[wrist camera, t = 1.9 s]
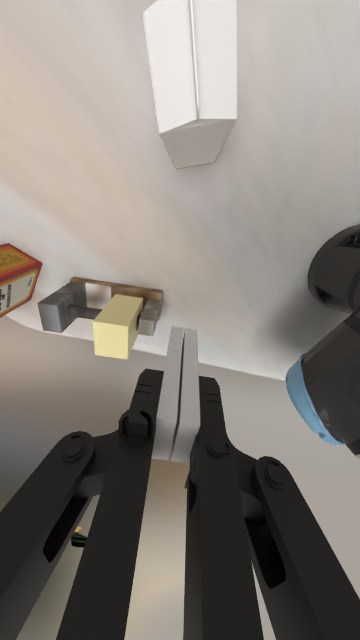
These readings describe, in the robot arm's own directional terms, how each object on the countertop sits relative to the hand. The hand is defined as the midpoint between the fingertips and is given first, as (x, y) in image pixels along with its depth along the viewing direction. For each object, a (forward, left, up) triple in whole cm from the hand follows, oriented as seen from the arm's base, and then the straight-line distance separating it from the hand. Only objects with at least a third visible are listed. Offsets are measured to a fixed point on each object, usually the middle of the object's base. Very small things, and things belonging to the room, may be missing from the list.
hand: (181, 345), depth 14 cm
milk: (+2, -16, -29) cm, 33 cm away
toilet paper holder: (+13, +11, -28) cm, 33 cm away
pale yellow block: (+9, +11, -23) cm, 27 cm away
